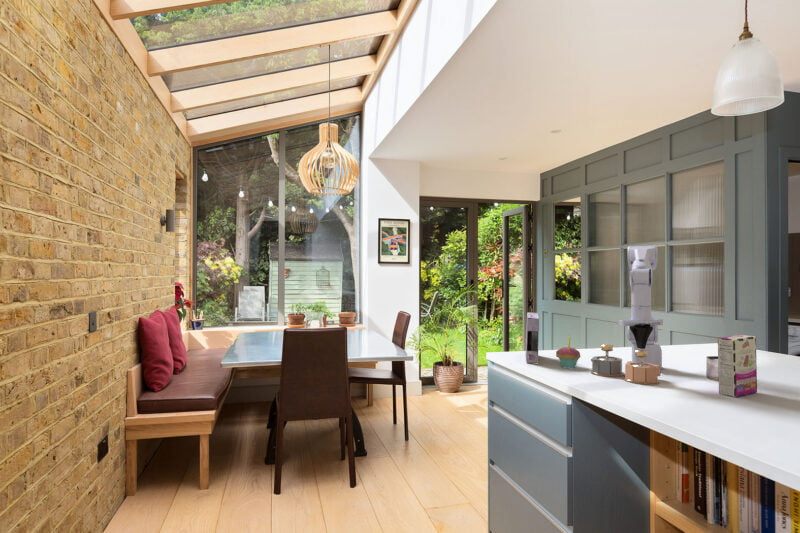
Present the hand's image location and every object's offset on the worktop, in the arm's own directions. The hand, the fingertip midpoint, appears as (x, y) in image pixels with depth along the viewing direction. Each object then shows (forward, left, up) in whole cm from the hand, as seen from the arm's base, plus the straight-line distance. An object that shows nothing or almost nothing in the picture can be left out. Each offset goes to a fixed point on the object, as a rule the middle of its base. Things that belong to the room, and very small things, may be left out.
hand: (641, 348), depth 160 cm
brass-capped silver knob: (+4, -12, -6) cm, 14 cm away
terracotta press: (0, 0, -10) cm, 10 cm away
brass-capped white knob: (0, 0, -6) cm, 6 cm away
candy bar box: (-16, +20, -11) cm, 28 cm away
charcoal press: (+4, -12, -10) cm, 16 cm away
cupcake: (+11, -25, -11) cm, 29 cm away
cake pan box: (+17, -41, -11) cm, 46 cm away
